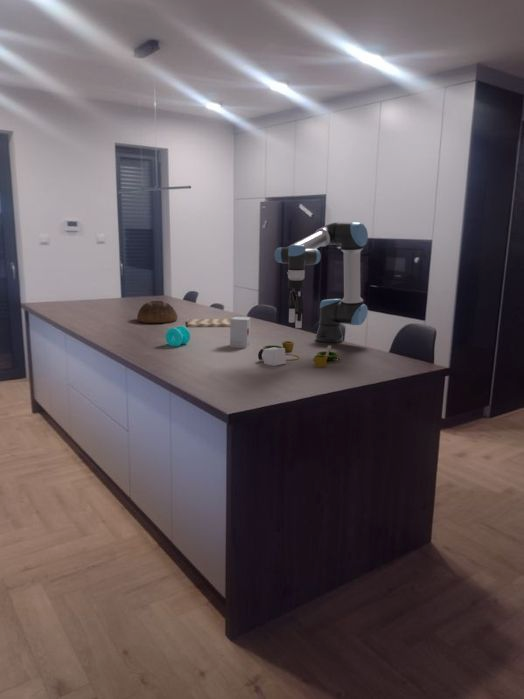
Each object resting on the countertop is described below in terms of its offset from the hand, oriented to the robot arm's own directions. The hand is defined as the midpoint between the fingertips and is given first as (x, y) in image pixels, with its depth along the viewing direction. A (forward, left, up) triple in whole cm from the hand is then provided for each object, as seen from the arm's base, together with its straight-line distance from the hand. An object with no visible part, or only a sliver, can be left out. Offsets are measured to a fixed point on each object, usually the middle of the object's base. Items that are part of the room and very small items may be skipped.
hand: (295, 325), depth 250 cm
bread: (+65, -115, -17) cm, 133 cm away
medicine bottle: (+9, +12, -12) cm, 19 cm away
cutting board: (+31, -100, -17) cm, 106 cm away
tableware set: (-5, -3, -18) cm, 19 cm away
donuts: (+53, -36, -17) cm, 66 cm away
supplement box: (+21, -32, -17) cm, 42 cm away
